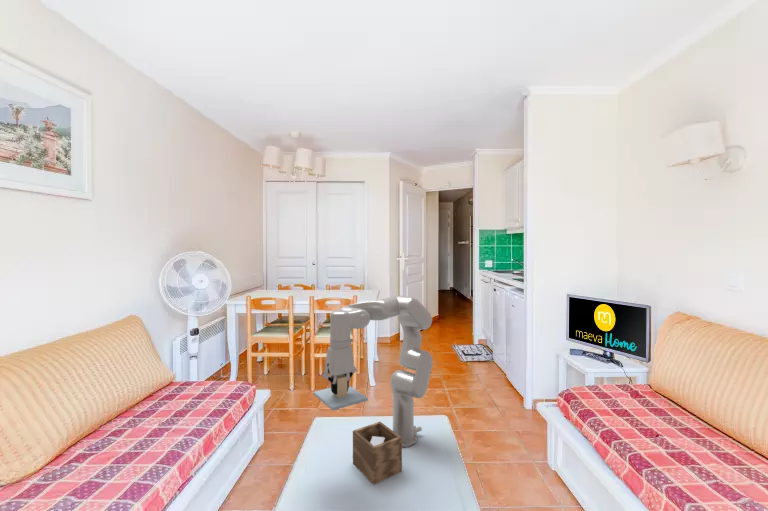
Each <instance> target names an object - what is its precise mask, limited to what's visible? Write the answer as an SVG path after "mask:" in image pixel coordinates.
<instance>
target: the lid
mask: <svg viewBox="0 0 768 511" xmlns="http://www.w3.org/2000/svg"><path fill="white" fill-rule="evenodd" d="M336 384H337V394H336V395H335V394H334V393H332V391H331V387H327V388H323V389H319V390H316V391H313V396H315V398H317V399H318V400H319V401H320V402H322V403H323V404H324V405H325V406H326V407H328V408H329V409H330V410H331V411H337V410H340V409H342V408H345V407H350V406H353V405H359V404H361V403H364V402H368V401H369V400H368V398H369V397H367V396H366V395H364V394H363V393H361V392H360V391H358V390H357V389H356V388H354V387H352V386H350V385H349V388H348V392H347V376H345V375H344V374H342V375H337V379H336Z"/></svg>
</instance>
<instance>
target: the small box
mask: <svg viewBox="0 0 768 511" xmlns="http://www.w3.org/2000/svg"><path fill="white" fill-rule="evenodd" d="M384 442H385V437H376V436H372V439H371V441H370V443H371V444H372V445H373V446H376V445H379V444H381V443H384Z"/></svg>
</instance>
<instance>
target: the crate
mask: <svg viewBox="0 0 768 511" xmlns="http://www.w3.org/2000/svg"><path fill="white" fill-rule="evenodd" d="M372 436H376V437H385V442H384V443H381V444H379V445H376V446H373V445H372V444H371V443H370V441H371V439H372ZM352 465H354V466H355V468H356V469H357V470H359V472H360V473H361V474H362V475H363V476H364V477H365V478H366V479H367V480H368V481H369V482H370V483H371V484H372V485H373V486H374V485H375V484H378V483H380V482H383V481H385V480H386V479H389V478H391V477H393V476H396V475H397V474H400V473H402V472H403V447H402V437H400V436H399V435H398V434H396V433H395V432H394V431H393V429H391V428H390V427H388V426H387V425H385V423H383V422H381V421H377V422H374V423H372V424H368V425H365V426H363V427H360V428H357V429H354V430H352Z"/></svg>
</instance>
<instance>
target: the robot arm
mask: <svg viewBox="0 0 768 511" xmlns="http://www.w3.org/2000/svg"><path fill="white" fill-rule="evenodd" d="M329 317H330V319H329V320H330V324H329V327H330V328H329V330H330V332H329V333H330V334H329V335H330V336H329V344H330V345H329V346H328V347H327V351H326V357H325V370H324V371H323V374H322V377H323V378H324V379H325V380H326V381H327V380H328V382H330V388H331V391H332V393H334V394H335V395H336V394H337V384H336V379H337V375H342V374H344V375H345V376H347V392H348V388H349V386H350V385H349V384H350V380H351V378H352V376H353V375H354V374H355V373H356V372H357V371H358V370H357V367H356V366H355V364H354V363H355V362H354V353H353V348H352V347H353V346H352V345H351V344H352V343H353V342H354V340H353V338H351V330H353V329H354V330H355V329H357V330H358V329H364V328H366V327H367V326H368V325H369V324H370V322H371V321H384V320H388V319H390V318H393V317H397V318H398V322H399V324H400V325H401V327H402V330H403V339H402V345H401V348H400V349H401V350H400V354H399V356H398V357H399V358H398V361H399V362H398V363H399V365H400V366H401V367H403V368H406V369H409V370H412V371H415V373H413V372H412V371H411V372H410V371H407V370H404V369H398V370H395V371H394V372H393V373H392V374H391V376H390V388H391V391H392V392H391V393H392V431H394V432H395V433H396V434H398V435H399V436H400V437H402V448H409V447H411V446H414V445H415V444H416V443H417V441H418V436H417V435H416V434H417V433H419V432H422V430H423V428H422V427H421V426H416V425H415V424H414V418H415V417H414V416H415V414H414V410H415V409H414V407H415V406H414V404H415V402H414V398H416V399H422V398H423V397H425V395H426V393H427V390H428V388H429V387H428V386H429V382H430V377H431V373H432V369H433V357H432V354H431V353H430V352H429V351H427V350H423V349H421V346H422V339H423V338H422V337H423V336H422V332H421V330H424V331H426V330H427V329H429V328H430V327H431V325H432V323H433V318H432V314H431V312H429V310H428V309H427V308H426V307H425V306H424V304H422V303H421V302H420V301H419V300H418V299H417V298H415V297H413V296H408V295H407V296H405V295H393V296H390V297H386V298H382V299H379V300H371V301H363V302H356V303H352V304H347V305H344V306H342V307H341V308H340V309H339V310H334V311H331V313H330V316H329Z"/></svg>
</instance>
